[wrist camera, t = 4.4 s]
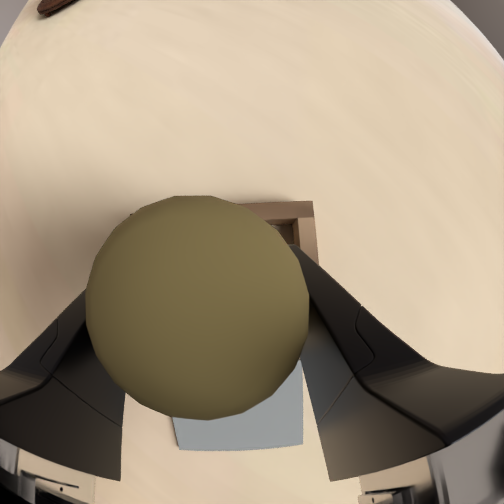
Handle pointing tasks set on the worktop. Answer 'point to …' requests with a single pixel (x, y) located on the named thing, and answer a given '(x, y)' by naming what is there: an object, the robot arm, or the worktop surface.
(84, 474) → the robot arm
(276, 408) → the pad
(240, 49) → the worktop surface
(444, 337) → the worktop surface
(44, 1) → the brown figurine
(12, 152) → the worktop surface
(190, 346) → the cork
